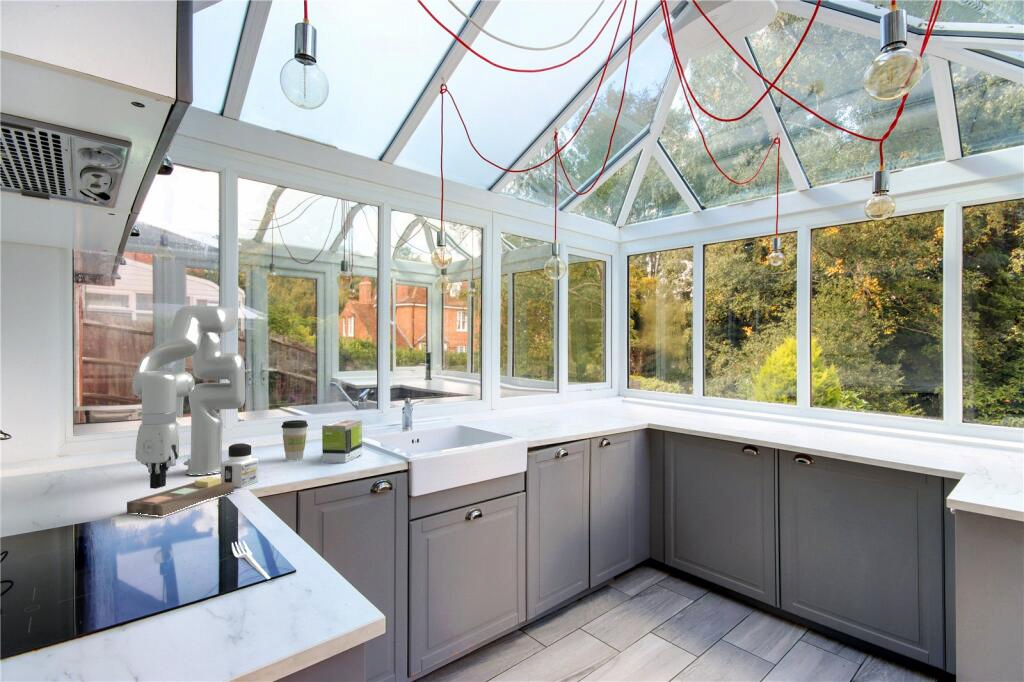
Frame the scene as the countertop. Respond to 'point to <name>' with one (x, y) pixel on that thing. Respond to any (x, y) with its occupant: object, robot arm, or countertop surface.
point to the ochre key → (207, 482)
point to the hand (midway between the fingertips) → (158, 487)
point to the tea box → (341, 441)
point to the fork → (248, 558)
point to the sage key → (184, 491)
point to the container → (240, 466)
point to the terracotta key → (157, 499)
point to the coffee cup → (294, 438)
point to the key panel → (178, 499)
